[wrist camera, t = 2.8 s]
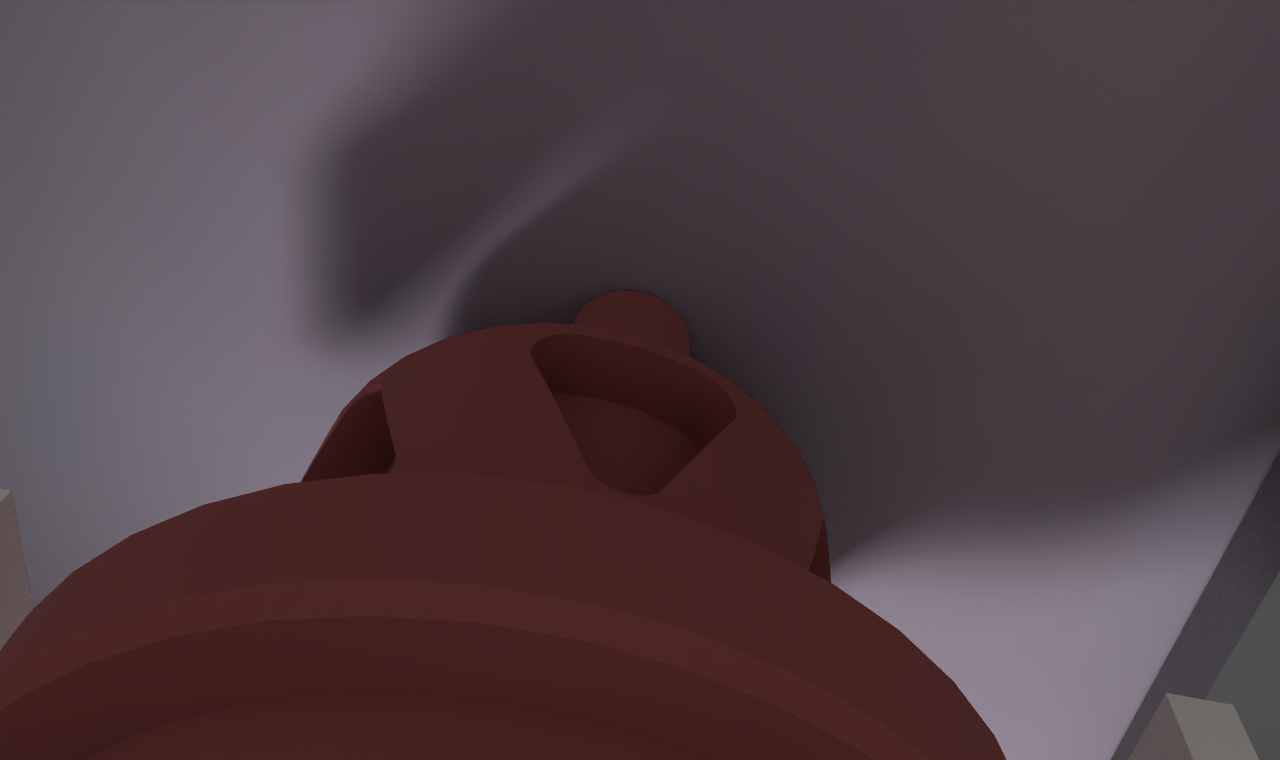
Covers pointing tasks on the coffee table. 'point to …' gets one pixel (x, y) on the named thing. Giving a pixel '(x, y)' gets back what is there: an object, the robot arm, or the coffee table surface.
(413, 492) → the mechanical component
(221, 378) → the coffee table surface
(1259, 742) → the grey piece
